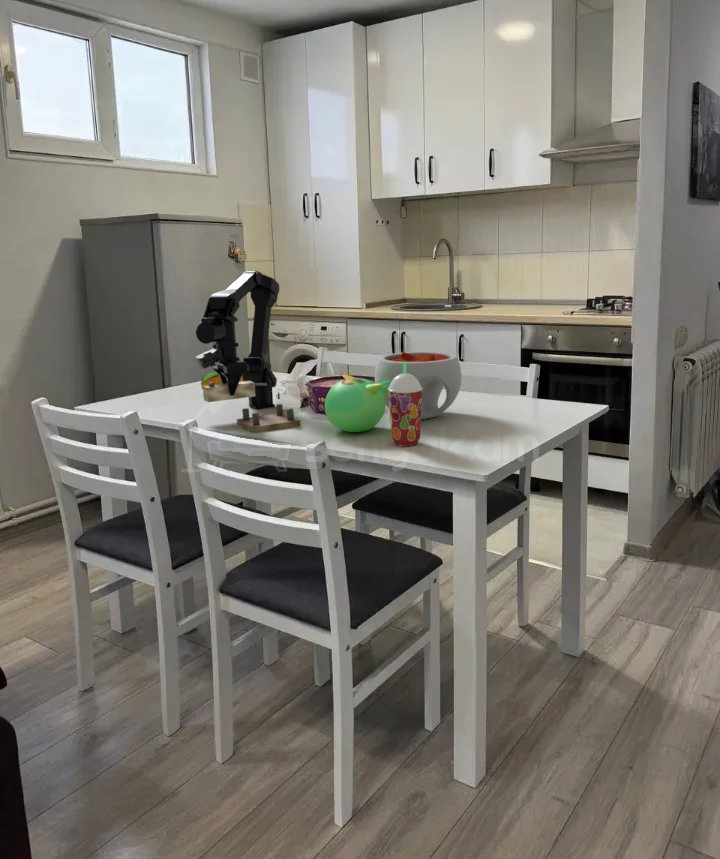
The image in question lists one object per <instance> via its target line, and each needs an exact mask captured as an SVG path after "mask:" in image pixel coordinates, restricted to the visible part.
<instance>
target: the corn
mask: <svg viewBox="0 0 720 859" xmlns="http://www.w3.org/2000/svg"><path fill="white" fill-rule="evenodd" d="M210 382H214V384H215V385H217V384H222V383H221V380H220V377H219V375H218V374H217V373H216V372H215V371H214V372H211V373H208V374H206V375H205V376H204V377H203V378H202V379H201V381H200V386H201V389H202V390H203V386H209V383H210ZM239 382H243V377H242V376H241V379H240V381H239Z"/></svg>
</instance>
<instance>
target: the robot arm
mask: <svg viewBox="0 0 720 859" xmlns="http://www.w3.org/2000/svg"><path fill="white" fill-rule="evenodd" d="M249 293H250V299H251V301H252V303H253V305H254V310H253V311H254V312H253V313H254V314H253V323H252V331H251V332H252V336H251V343H250V344H251V346H250V353H249V354H248V356H247V357H246V356H245V357H244V358H243V360H240V357H239V356H238V353H237V352H238V351H237V348H238V347H239V342H237V339H236V337H237V335H236V325H235V322H238V321H239V319H238V317H236V316H235V314H236V313H237V311H238V310H239V308H240V306H241V305H240V302H241V300H243V299H244V298H245V297H246V295H247V294H249ZM279 293H280V284H279V282H278V281H277V280H276V279H275V278H273V277H271V276H269V275H265V274H263V273H262V272H261V271H258V270H244V271H243V272H242V273H241V276H240V277H238V278H237V279H236V280H235V281H233V283H231V285H229V286H228V287H227V288H226V289H224V290H221V291H220V290H219V291H217V292H215V293H212V294H211V295H210V296H209V297H208V301H207V304H206V308H205V310H204V313H203V317H202V318H200V319H201V323H199V324H198V325H197V327H196V330H195V335H196V338H197V340H198V341H199V342H200V343H202V344H205V345H207V344H211V343H213V344H212V345H211V346H212V349H209V350H206V351H204V352H202V353H200V354H198V355H196V356H195V359H196V362H197V364H198V366H199V368H201V369H203V370H204V369H207V368H212V367H213V366H214V368H212V369H211V370H212V371H213V372H214V373H215V372H216V373H217V374H218V375H219V377H220V380H221V383H222V384H226V383H227V384H228V389H229V393H230V395H234V394H235V391H236V389H237V386H238V383H239V381H240V379H241V376H242V377H243V381H252V382H254V383H255V396H254V397H248V406H249V407H251V406H252V407H251V408H254V409H256V410H257V409H264V408H271V407H273V408H274V407H276V404H275V403H274V399H273V397H274V395H273V388H276V386H277V383H278V382H277V380H278V379H277V377H276V376H275V374H274V373H273V371H272V363H271V362H270V360H269V359H270V358H269V357H268V344H269V334H270V333H269V332H270V325H271V324H270V323H271V314H272V313H271V312H272V308H273V307H274V305H275V304H276V302H277V301H278V296H279Z"/></svg>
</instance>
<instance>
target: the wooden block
mask: <svg viewBox="0 0 720 859" xmlns="http://www.w3.org/2000/svg"><path fill="white" fill-rule="evenodd" d="M202 394H203V401H205V402H207V403H213V402H214V403H215V402H222V401H228V400H236V399H237V400H239V399H245V398H249V397H254V396H255V383H254V382H252V381H243V382H239V383H238V386H237V389H236V391H235V394H234V395H230V393H229V389H228V384H227V383H226V384H217V385H215V384H214V382H210V383H209V386H203V389H202Z"/></svg>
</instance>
